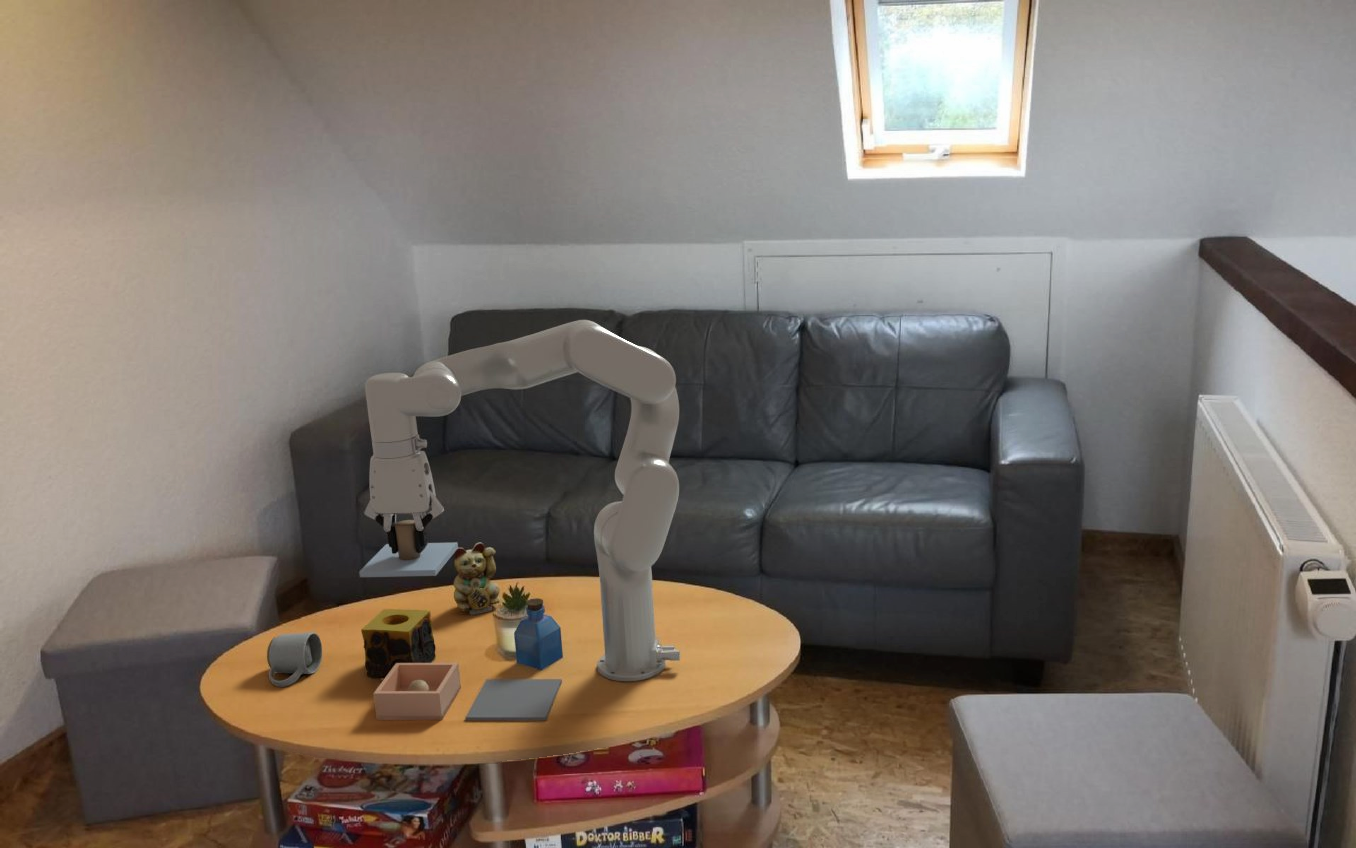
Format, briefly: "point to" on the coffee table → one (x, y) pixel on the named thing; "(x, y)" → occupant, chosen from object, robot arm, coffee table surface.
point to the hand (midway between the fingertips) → (409, 549)
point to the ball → (418, 686)
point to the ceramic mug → (294, 656)
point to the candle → (397, 640)
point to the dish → (417, 704)
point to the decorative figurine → (475, 579)
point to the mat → (514, 700)
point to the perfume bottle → (537, 638)
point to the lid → (408, 556)
